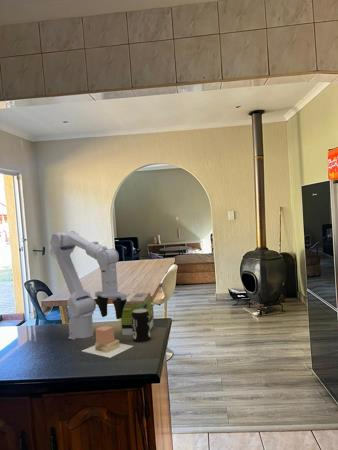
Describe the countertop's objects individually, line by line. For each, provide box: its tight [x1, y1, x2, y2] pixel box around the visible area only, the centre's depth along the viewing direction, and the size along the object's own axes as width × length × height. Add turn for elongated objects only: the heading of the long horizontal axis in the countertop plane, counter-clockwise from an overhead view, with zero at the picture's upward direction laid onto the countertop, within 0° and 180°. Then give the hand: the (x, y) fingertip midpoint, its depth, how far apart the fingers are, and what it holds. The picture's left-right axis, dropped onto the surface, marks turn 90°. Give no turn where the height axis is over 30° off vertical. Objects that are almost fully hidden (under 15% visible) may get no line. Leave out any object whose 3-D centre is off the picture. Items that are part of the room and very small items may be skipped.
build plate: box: [81, 342, 134, 359], centre depth 130 cm, size 14×12×1 cm
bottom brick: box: [94, 338, 120, 353], centre depth 130 cm, size 6×6×2 cm
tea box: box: [120, 292, 154, 336], centre depth 151 cm, size 15×10×15 cm
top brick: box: [95, 325, 115, 345], centre depth 129 cm, size 4×4×5 cm
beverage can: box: [132, 308, 152, 343], centre depth 138 cm, size 7×7×12 cm
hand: (111, 317), depth 138 cm, fingers open, 7 cm apart
